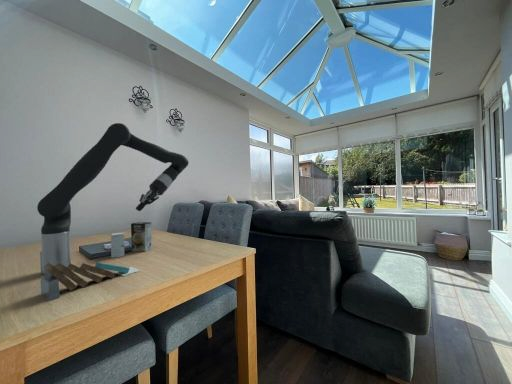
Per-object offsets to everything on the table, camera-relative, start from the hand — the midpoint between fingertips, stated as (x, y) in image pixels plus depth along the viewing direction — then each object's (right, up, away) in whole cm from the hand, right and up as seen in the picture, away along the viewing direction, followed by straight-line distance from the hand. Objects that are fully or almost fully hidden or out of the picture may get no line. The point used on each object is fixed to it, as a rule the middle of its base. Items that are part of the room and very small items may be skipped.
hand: (137, 209), depth 103 cm
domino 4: (-3, -25, -14) cm, 29 cm away
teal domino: (0, -24, -10) cm, 26 cm away
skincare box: (-18, -26, +15) cm, 35 cm away
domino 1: (-10, -25, -25) cm, 37 cm away
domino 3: (-5, -25, -18) cm, 32 cm away
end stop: (-13, -26, -30) cm, 42 cm away
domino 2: (-8, -25, -22) cm, 35 cm away
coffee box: (-12, -26, +26) cm, 39 cm away
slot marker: (+1, -26, -10) cm, 27 cm away
